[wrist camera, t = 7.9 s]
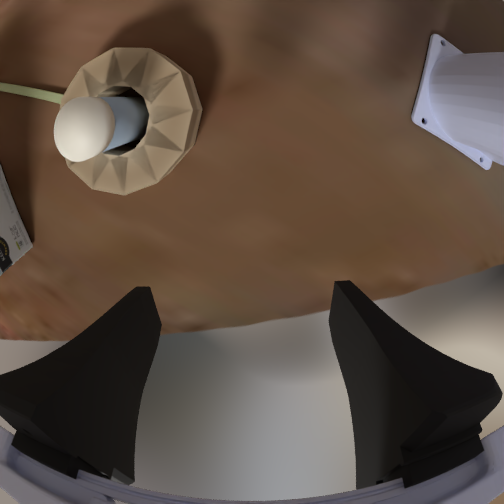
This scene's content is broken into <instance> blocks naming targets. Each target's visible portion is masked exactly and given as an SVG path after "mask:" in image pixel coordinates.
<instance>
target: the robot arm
mask: <svg viewBox="0 0 504 504" xmlns="http://www.w3.org/2000/svg"><path fill="white" fill-rule="evenodd" d="M441 42H442V43H443V46H442V45H441ZM411 118H412V121H413V122H414V123H415V124H417V125H418V126H420V127H422V128H424V129H425V130H427V131H429V132H430V133H432V134H434V135H435V136H437V137H439V138H440V139H442V140H444V141H445V142H447V143H448V144H450V145H451V146H453V147H454V148H456V149H457V150H459V151H460V152H462V153H463V154H465V155H466V156H467V157H469V158H470V159H472V160H473V161H474V162H476V163H477V164H478V165H480V166H481V167H482V168H484V169H486V170H489V169H490V167H491V164H492V161H494V162H496V163H499V164H501V165H503V166H504V52H486V53H469V54H464V53H462V52H461V51H460V50H459V49H457V48H456V47H455V46H453V45H452V44H451V43H449V42H448V41H447V40H445V39H444V38H442V37H441V36H440V35H438V34H433V35H431V37H430V43H429V48H428V52H427V57H426V62H425V66H424V70H423V74H422V79H421V83H420V86H419V90H418V94H417V98H416V101H415V105H414V108H413V112H412V116H411ZM422 118H424V120H425V122H424V124H423V123H422ZM480 158H481V160H480ZM161 326H162V324H161V321H160V318H159V315H158V311H157V308H156V305H155V302H154V299H153V295H152V292H151V288H150V287H135V288H134V289H133V290H131V291H130V292H129V293H128V294H127V295H125V296H124V297H123V298H122V299H121V300H120V301H119V302H117V303H116V304H115V305H114V306H113V307H112V308H111V309H109V310H108V311H107V312H106V313H105V314H104V315H103V316H101V317H100V318H99V319H98V320H97V321H95V322H94V323H93V324H92V325H90V326H89V327H88V328H87V329H86V330H84V331H83V332H82V333H80V334H79V335H78V336H76V337H75V338H74V339H72V340H71V341H69V342H68V343H66V344H65V345H63V346H62V347H60V348H58V349H57V350H55V351H53V352H51V353H50V354H48V355H47V356H45V357H43V358H41V359H39V360H37V361H35V362H33V363H30V364H28V365H26V366H24V367H21V368H19V369H16V370H13V371H10V372H8V373H5V374H2V375H0V416H1V417H2V418H3V419H5V420H6V421H7V422H8V423H9V424H10V425H11V426H12V427H13V428H14V429H16V430H17V431H16V433H15V435H13V434H12V433H10V432H9V431H7V430H6V429H4V428H3V427H1V426H0V487H1V488H2V489H3V490H4V491H5V492H6V493H8V494H9V495H10V496H11V497H12V498H13V499H15V500H16V501H17V502H18V503H19V504H116V503H115V501H114V500H117V501H121V502H124V503H128V504H488V503H490V502H491V501H492V500H494V499H495V498H496V497H497V496H499V495H500V494H501V493H503V492H504V426H502V427H500V428H499V429H497V430H496V431H494V432H492V433H490V434H489V435H487V436H486V437H484V438H483V439H481V440H480V437H479V435H478V434H480V433H481V432H482V428H481V425H480V422H481V421H482V420H483V419H484V418H485V417H486V416H487V415H488V414H489V413H490V412H491V411H492V410H493V409H494V408H495V407H496V406H497V404H498V403H499V402H500V400H501V398H502V391H501V389H500V387H499V385H498V383H497V382H496V380H495V378H494V376H493V374H491V373H488V372H485V371H482V370H479V369H476V368H473V367H471V366H468V365H466V364H464V363H462V362H459V361H457V360H455V359H453V358H451V357H449V356H447V355H445V354H443V353H441V352H439V351H438V350H436V349H434V348H432V347H431V346H429V345H427V344H426V343H424V342H423V341H421V340H420V339H418V338H417V337H415V336H414V335H412V334H411V333H410V332H408V331H407V330H405V329H404V328H403V327H402V326H400V325H399V324H398V323H396V322H395V321H394V320H393V319H392V318H390V317H389V316H388V315H387V314H386V313H385V312H384V311H382V310H381V309H380V308H379V307H378V306H377V305H376V304H375V303H374V302H373V301H371V300H370V299H369V298H368V297H367V296H366V295H365V294H364V293H363V292H362V291H361V290H360V289H359V288H358V287H357V286H355V285H354V284H353V283H352V282H351V281H350V280H347V281H335V283H334V290H333V297H332V303H331V309H330V315H329V326H330V331H331V337H332V342H333V345H334V349H335V352H336V355H337V359H338V362H339V365H340V369H341V372H342V375H343V378H344V382H345V385H346V389H347V393H348V397H349V402H350V409H351V415H352V423H353V432H354V442H355V455H356V490H353V491H348V492H343V493H338V494H333V495H326V496H319V497H312V498H303V499H292V500H278V501H226V500H211V499H201V498H192V497H184V496H177V495H172V494H165V493H160V492H155V491H150V490H146V489H141V488H137V487H133V486H129V485H130V484H132V483H133V482H134V481H135V478H134V454H135V438H136V429H137V419H138V414H139V408H140V402H141V397H142V393H143V389H144V386H145V383H146V380H147V376H148V374H149V370H150V368H151V365H152V361H153V358H154V355H155V352H156V349H157V346H158V341H159V337H160V331H161ZM113 499H114V500H113Z"/></svg>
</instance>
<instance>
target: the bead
mask: <svg viewBox="0 0 504 504" xmlns="http://www.w3.org/2000/svg"><path fill="white" fill-rule="evenodd" d="M132 88H133V89H134V90H135V91H137V92H138V93H139V94H140V95H142V96H143V97H144V100H145V103H146V106H147V109H148V112H149V120H148V125H147V131H146V135H145V136H144V137H143V138H142V140H141V141H140V142H139V144H138V145H137V146H136V148H135V147H129V146H123V145H120V146H118V147H115V148H112V149H110V150H107V151H104V152H102V153H100V154H99V155H97V156H94V157H92V158H90V159H87V160H85V161H81V162H74V161H71V160H68V159H67V158H65V160H66V162H67V165H68V167H69V168H70V169H71V170H72V171H73V172H74V173H75V174H76V175H77V176H78V177H79V178H81V179H82V180H83V181H84V182H85V183H86V184H87V185H88V186H89V187H90V188H92V189H94V190H100V191H105V192H110V193H115V194H120V195H127V194H129V193H132V192H134V191H137V190H140V189H142V188H145V187H148V186H150V185H153V184H156V183H158V182H159V181H160V180H162V179H163V178H164V177H165V176H166V175H168V174H169V173H170V172H171V171H172V170H173V169H174V168H175V166H176V165H177V164H178V163H179V162H180V161H181V159H182V158H183V157H184V156H185V155H186V154H187V153H188V151H189V150H190V149H191V148H192V147H193V146H194V145H195V140H196V136H197V131H198V127H199V122H200V118H201V114H202V110H203V109H202V106H201V103H200V100H199V97H198V94H197V90H196V87H195V84H194V81H193V78H192V76H191V75H190V74H188V73H187V72H186V71H185V70H183V69H182V68H181V67H180V66H178V65H177V64H176V63H174V62H173V61H172V60H170V59H169V58H168V57H167V56H165V55H163V54H161V53H159V52H157V51H155V50H153V49H151V48H112V49H111V50H109V51H107V52H105V53H103V54H102V55H100V56H98V57H97V58H95V59H93V60H92V61H90V62H88V63H87V64H85V65H84V66H82V67H81V68H80V70H79V71H78V73H77V74H76V76H75V77H74V79H73V80H72V82H71V84H70V85H69V87H68V88H67V90H66V92H65V93H64V95H63V97H62V99H61V105H60V110H61V108H62V107H63V106H64V105H65V104H66V103H67V102H68V101H70V100H72V99H74V98H77V97H91V96H93V97H118V96H119V95H120V94H121V93H123V92H125V91H127V90H130V89H132Z"/></svg>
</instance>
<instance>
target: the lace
mask: <svg viewBox="0 0 504 504" xmlns="http://www.w3.org/2000/svg"><path fill="white" fill-rule="evenodd" d="M0 91H4V92H9V93H15V94H20V95H24V96H29V97H34V98H38V99H43V100H47V101H51V102H55V103H59V104H61V99H62V97H63V95H64V94H60V93H56V92H51V91H47V90H42V89H37V88H31V87H26V86H20V85H14V84H7V83H0Z"/></svg>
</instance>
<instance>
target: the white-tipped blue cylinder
mask: <svg viewBox="0 0 504 504" xmlns="http://www.w3.org/2000/svg"><path fill="white" fill-rule="evenodd" d="M148 120H149V112H148V109H147V106H146V103H145V100H144V98H140V97H93V96H91V97H77V98H74V99H72V100H70V101H68V102H67V103H66V104H65V105H64V106H63V107H62V108H61V110H60V111H59V113H58V115H57V118H56V121H55V125H54V139H55V143H56V146H57V148H58V150H59V151H60V153H61V154H62V155H63V156H64V157H65V158H67V159H68V160H71V161H74V162H81V161H85V160H87V159H90V158H92V157H94V156H97V155H99V154H100V153H102V152H104V151H107V150H110V149H112V148H115V147H118V146H120V145H123V144H126V143H129V142H132V141H135V140H138V139H141V138H143V137H144V136H145V135H146V131H147V125H148Z"/></svg>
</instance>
